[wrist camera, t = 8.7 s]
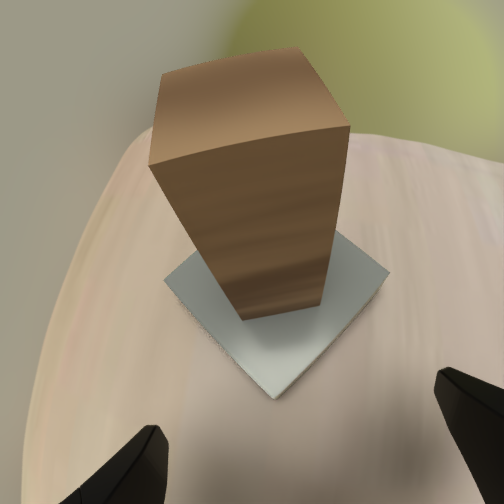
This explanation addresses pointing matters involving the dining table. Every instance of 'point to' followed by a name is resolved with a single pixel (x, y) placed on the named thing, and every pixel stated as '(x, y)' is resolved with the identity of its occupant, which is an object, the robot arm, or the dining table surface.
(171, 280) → the slate tile
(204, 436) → the dining table surface
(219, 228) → the pillar
